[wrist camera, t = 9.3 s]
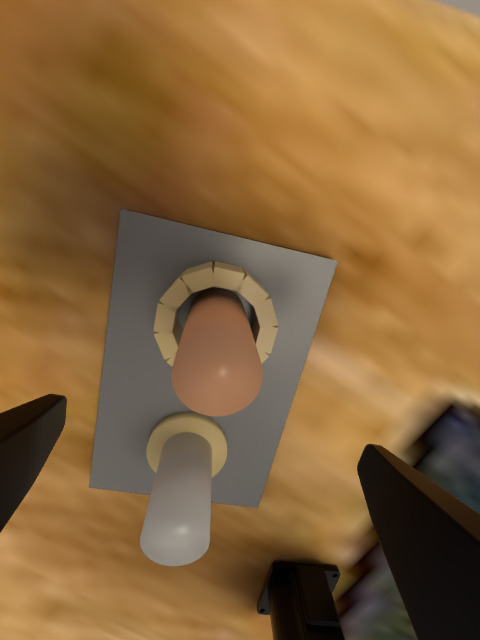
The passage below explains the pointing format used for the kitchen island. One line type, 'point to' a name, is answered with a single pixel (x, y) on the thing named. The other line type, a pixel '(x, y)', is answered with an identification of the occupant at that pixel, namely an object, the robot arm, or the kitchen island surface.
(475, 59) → the kitchen island surface
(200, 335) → the brown peg
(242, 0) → the kitchen island surface
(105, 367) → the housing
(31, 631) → the kitchen island surface
